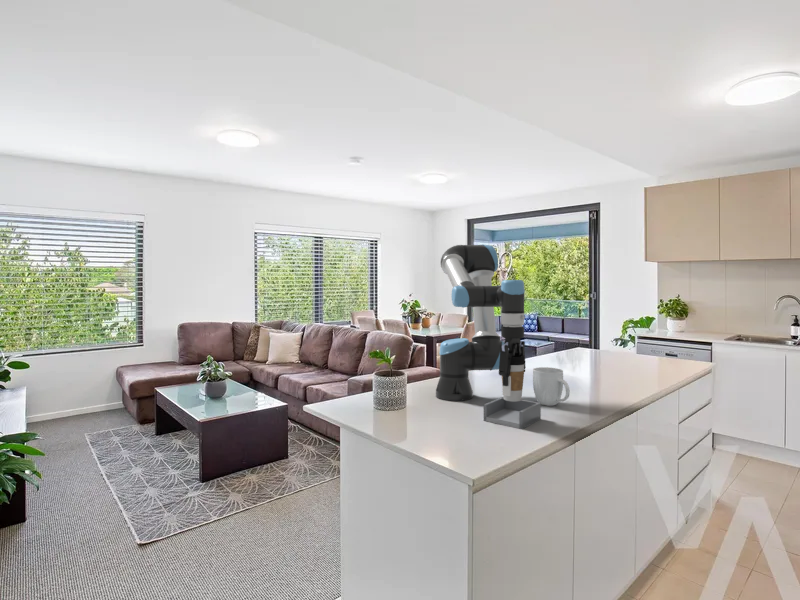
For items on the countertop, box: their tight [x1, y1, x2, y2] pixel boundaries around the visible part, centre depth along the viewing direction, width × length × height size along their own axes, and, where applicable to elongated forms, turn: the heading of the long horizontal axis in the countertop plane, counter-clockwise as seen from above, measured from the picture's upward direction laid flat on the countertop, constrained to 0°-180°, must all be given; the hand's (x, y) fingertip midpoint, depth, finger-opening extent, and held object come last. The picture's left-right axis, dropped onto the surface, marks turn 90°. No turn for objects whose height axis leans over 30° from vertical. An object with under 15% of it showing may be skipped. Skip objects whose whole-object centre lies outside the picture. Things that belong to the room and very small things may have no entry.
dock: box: [483, 396, 542, 430], centre depth 156 cm, size 14×14×6 cm
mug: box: [532, 366, 571, 407], centre depth 174 cm, size 15×11×13 cm
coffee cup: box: [501, 355, 526, 402], centre depth 155 cm, size 8×8×15 cm
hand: (512, 392), depth 155 cm, fingers closed on coffee cup, 7 cm apart
